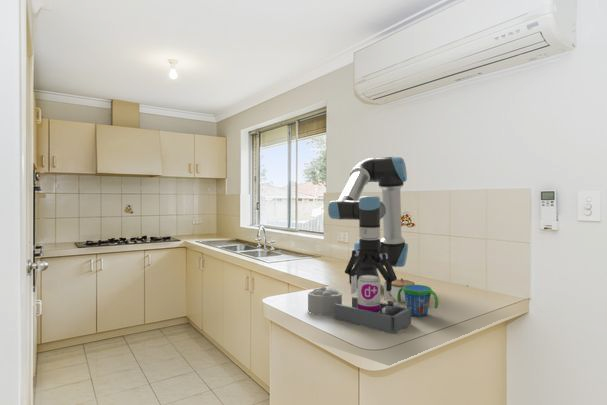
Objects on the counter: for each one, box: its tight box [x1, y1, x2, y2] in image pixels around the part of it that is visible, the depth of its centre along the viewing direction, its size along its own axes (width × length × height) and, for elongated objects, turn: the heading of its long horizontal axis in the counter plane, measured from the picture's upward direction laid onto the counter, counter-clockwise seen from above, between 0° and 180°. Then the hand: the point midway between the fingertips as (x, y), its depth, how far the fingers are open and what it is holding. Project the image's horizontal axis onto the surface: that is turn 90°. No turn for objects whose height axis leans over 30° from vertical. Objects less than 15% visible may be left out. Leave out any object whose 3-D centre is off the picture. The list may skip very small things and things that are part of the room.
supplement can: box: [356, 275, 381, 313], centre depth 135 cm, size 8×8×15 cm
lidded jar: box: [389, 278, 416, 303], centre depth 162 cm, size 11×11×9 cm
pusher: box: [382, 300, 400, 316], centre depth 129 cm, size 2×10×7 cm, turn 140°
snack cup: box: [397, 284, 439, 317], centre depth 143 cm, size 16×10×10 cm
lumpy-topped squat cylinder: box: [307, 286, 343, 316], centre depth 147 cm, size 10×13×9 cm
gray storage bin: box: [334, 296, 412, 335], centre depth 134 cm, size 24×13×6 cm, turn 50°
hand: (369, 296), depth 135 cm, fingers open, 13 cm apart
